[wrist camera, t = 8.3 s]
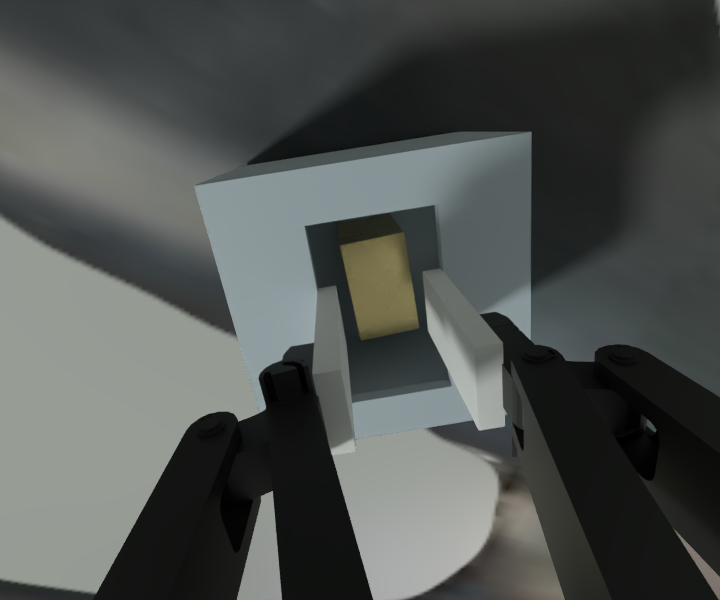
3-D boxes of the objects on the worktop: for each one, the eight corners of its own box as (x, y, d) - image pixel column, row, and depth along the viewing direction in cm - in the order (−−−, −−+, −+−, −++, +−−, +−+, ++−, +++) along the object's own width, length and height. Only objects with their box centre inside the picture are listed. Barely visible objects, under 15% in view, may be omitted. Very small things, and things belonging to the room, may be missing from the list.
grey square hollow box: (241, 166, 23) (194, 186, 15) (458, 131, 23) (531, 131, 15) (287, 356, 28) (271, 453, 19) (469, 326, 28) (530, 410, 19)
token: (337, 223, 24) (339, 245, 19) (389, 212, 24) (404, 232, 19) (354, 303, 26) (360, 340, 21) (403, 293, 26) (419, 328, 21)
